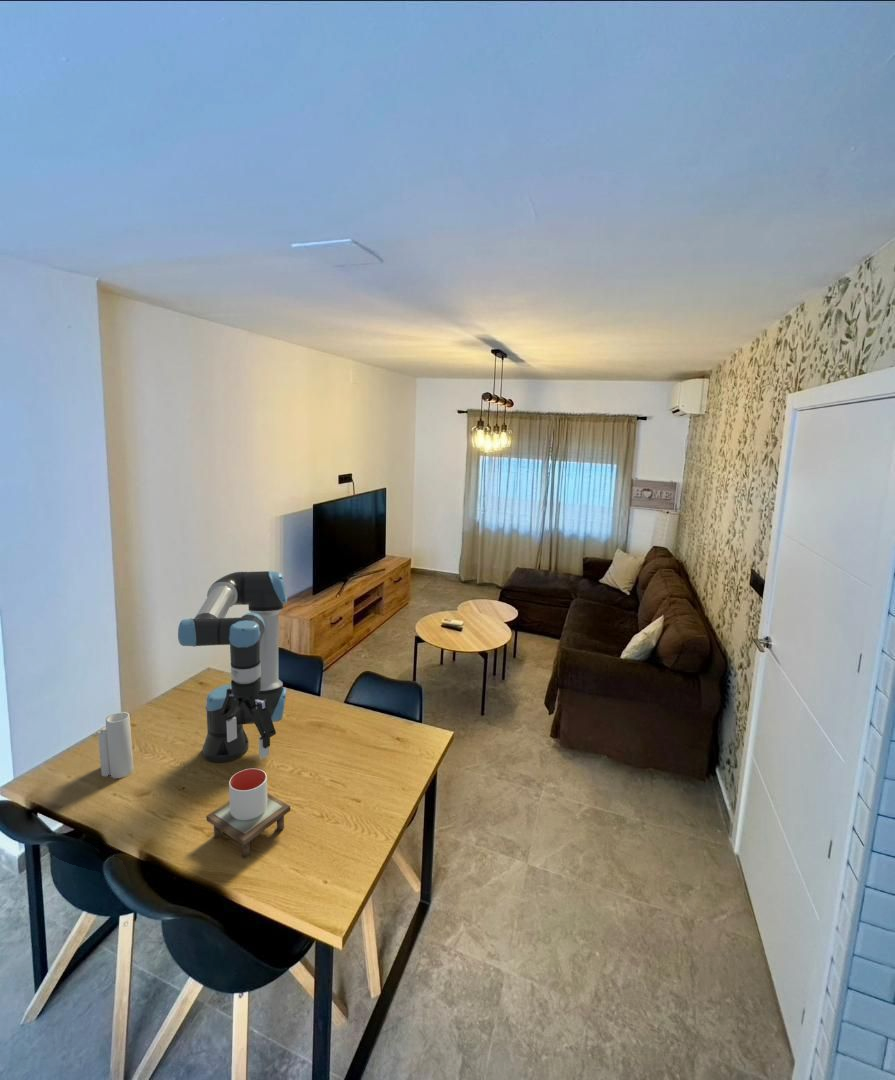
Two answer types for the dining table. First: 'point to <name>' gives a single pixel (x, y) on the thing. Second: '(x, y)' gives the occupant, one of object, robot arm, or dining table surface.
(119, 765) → the vase
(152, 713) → the dining table surface
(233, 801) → the cup
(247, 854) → the footstool
